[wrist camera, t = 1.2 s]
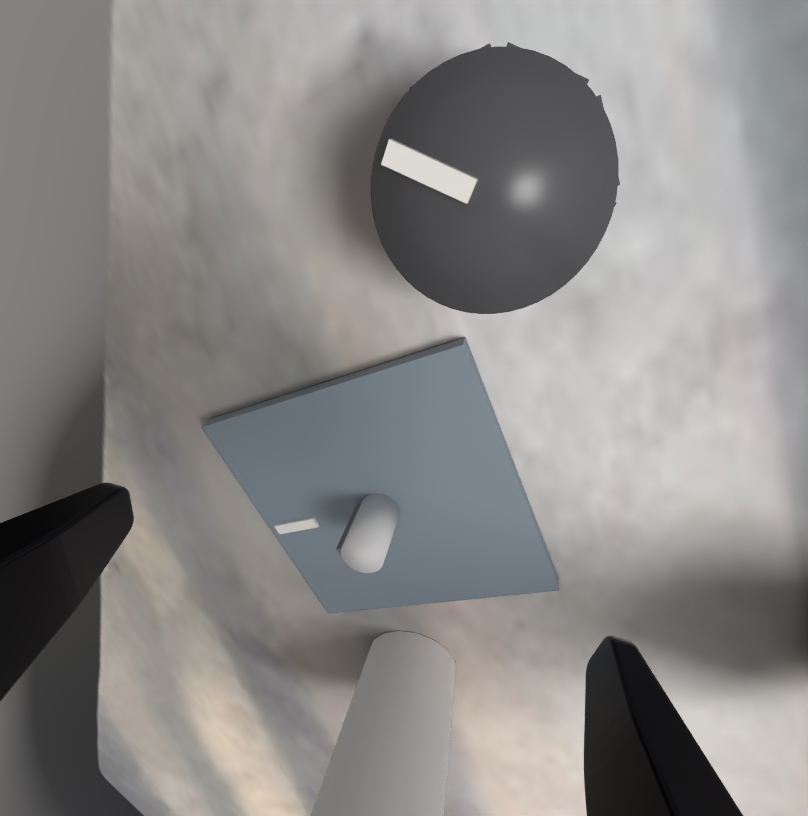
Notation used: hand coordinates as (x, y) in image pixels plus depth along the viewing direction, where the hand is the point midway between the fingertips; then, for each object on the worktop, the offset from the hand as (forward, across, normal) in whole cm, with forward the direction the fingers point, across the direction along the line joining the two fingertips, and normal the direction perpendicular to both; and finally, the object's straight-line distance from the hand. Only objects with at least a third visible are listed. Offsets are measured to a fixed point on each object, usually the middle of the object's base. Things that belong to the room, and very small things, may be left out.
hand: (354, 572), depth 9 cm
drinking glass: (+13, -3, +23) cm, 26 cm away
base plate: (+13, +1, +10) cm, 16 cm away
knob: (+13, 0, -6) cm, 14 cm away
